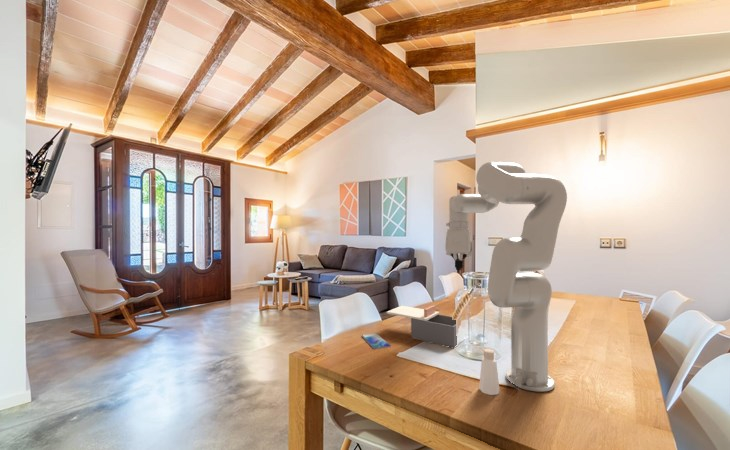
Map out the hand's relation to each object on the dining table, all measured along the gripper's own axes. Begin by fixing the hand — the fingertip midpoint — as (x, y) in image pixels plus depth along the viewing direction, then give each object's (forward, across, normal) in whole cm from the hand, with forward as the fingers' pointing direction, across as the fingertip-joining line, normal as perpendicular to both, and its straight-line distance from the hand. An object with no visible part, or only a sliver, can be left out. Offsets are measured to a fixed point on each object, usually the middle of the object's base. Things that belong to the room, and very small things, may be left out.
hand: (459, 269), depth 132 cm
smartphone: (+28, -25, -26) cm, 45 cm away
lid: (+19, -17, -9) cm, 27 cm away
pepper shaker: (+27, +22, -39) cm, 52 cm away
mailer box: (+27, -6, -9) cm, 29 cm away
